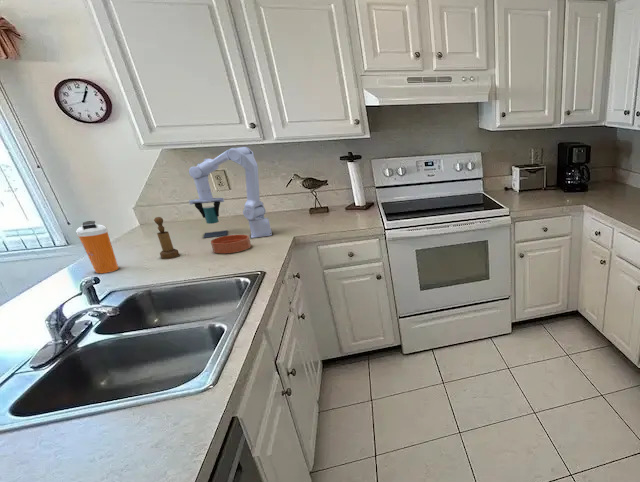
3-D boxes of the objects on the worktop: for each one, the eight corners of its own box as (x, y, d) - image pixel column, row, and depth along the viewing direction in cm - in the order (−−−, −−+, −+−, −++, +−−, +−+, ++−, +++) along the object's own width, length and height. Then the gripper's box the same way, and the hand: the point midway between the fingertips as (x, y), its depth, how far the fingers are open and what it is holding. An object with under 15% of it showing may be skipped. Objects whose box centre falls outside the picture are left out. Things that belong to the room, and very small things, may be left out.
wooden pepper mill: (158, 259, 180) (144, 219, 173) (165, 255, 186) (152, 215, 179) (175, 258, 181) (163, 218, 175) (182, 253, 187) (170, 214, 180)
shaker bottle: (119, 265, 174) (101, 218, 166) (124, 269, 168) (106, 222, 161) (90, 270, 167) (71, 223, 160) (94, 276, 162) (74, 226, 154)
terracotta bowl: (251, 242, 203) (248, 232, 201) (251, 251, 191) (249, 240, 189) (214, 247, 196) (211, 237, 194) (213, 256, 184) (210, 245, 182)
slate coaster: (227, 231, 223) (226, 230, 223) (226, 235, 215) (226, 234, 215) (205, 233, 218) (204, 233, 218) (203, 238, 210) (203, 237, 210)
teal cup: (219, 220, 217) (215, 205, 214) (218, 222, 213) (214, 207, 210) (207, 221, 215) (203, 206, 212) (205, 224, 210) (201, 208, 207)
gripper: (185, 192, 201) (192, 220, 206) (219, 190, 207) (226, 216, 212) (187, 190, 207) (195, 217, 212) (221, 188, 213) (228, 214, 218)
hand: (211, 216), depth 213 cm, fingers closed on teal cup, 5 cm apart
